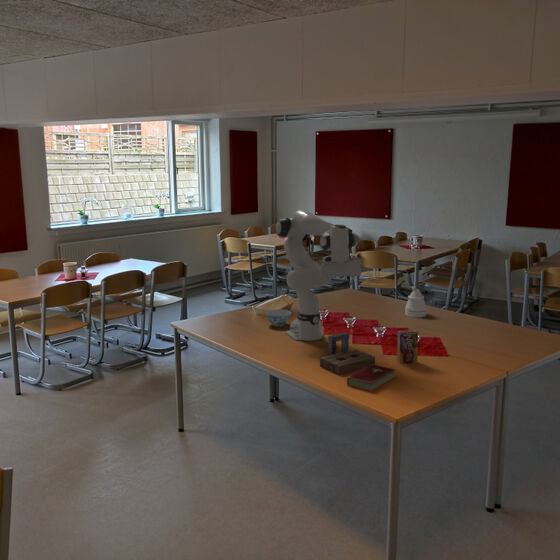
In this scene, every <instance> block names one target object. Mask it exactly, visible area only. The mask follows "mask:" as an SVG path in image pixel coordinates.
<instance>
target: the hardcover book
mask: <svg viewBox="0 0 560 560" xmlns="http://www.w3.org/2000/svg"><path fill="white" fill-rule="evenodd" d="M396 370H397V369H394V368H391V367H386V366H384V365H377V364H375V365H374V364H372V365H370V366H368V367H365V368H362V369H361V370H359V371H357V372H355V373H354V374H352V375H350V376H348V377H347V379H346V385H347V386H350V387H351V386H352V387H355V388H358V389H363V390H366V391H370V392H371V391H374V390H376V389H377V388H378V387H380V386H382V385H384V384H385V383H386V382H388V381H390V380H391V379H394V378H395V371H396Z"/></svg>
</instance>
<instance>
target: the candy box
mask: <svg viewBox="0 0 560 560" xmlns="http://www.w3.org/2000/svg"><path fill="white" fill-rule="evenodd" d="M396 343H397V351H396V353H397V355H396V356H397V357H396V361H397V363H398V364H399V365H406V364H418V353H419V352H418V347H419V346H418V345H419V344H418V343H419V331H417V330H416V329H414V330H398V331H397V342H396Z"/></svg>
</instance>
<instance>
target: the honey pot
mask: <svg viewBox="0 0 560 560" xmlns="http://www.w3.org/2000/svg"><path fill="white" fill-rule="evenodd" d="M410 288H411V290H412V292H411V293H410V295H408V296H407V302H406V304H405V309H404V310H405V311H404V315H405V316H406V315H407V316H406V317H409V316H410V318H423V317H424V318H425V317H427V306H426V302H425V299H424V298H425V296H424V295H423V294H422V292H421V291H420V289H418V288H416V286H411V287H410Z"/></svg>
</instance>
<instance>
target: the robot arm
mask: <svg viewBox="0 0 560 560" xmlns="http://www.w3.org/2000/svg"><path fill="white" fill-rule="evenodd" d="M274 228H275V234H276V235H277V236H278V237H280V238H287V239H286V240H285V241H284V243H283V246H284V247H283V248H284V252H285V254H286V257H287V259H288V261H289V263H290V265H291V267H292V270H290V271H288V273H286V277H285V278H286V284H287V285H288V287H289V288H290V289H291V290H293V291H294V292H295V294H296V295H297V299H298V310H299V311H298V312H296V314H297V318H296V319H294V321H292V322H291V323H290V326H289V330H286V331H285V334H286V335H287V336H288V337H290V338H292V339H293V340H295V341H307V342H308V341H309V342H311V341H313V342H314V341H318V340H322V339H323V336H324V332H323V328H322V321H321V312H320V299H319V297H318V296H317V295H316V294H314V293H311V288H312V289H313V288H321V287H324V286H328V285H330V286H331V287H332V286H334V281H332V278H333V277H351V280H349V281H348V285H349V286H353V282H354V280H355V277H360V276H361V275H362V268H361V266H362V264H363V261H362V258H360V257H359V256H355V257H354V256H350V250H351V249H352V247H354V244H355V242H356V238H355V235H354V234H353V232H352V231H351V230H349V229H348V227H347V226H346V225H344V224H333V223H331V222H328V221H326V220H324V219H322V218H320V217H318V216H317V215H315V214H313V213H312V212H311V211H308V210H306V209H298V210H296V211H295V212H294V213H293V215H292V217H291V218H289V217H284V218H281V219H278V220H277V222H275V227H274ZM311 236H320V237H319V246H320V248H321V249H322V250H324V251H330V254H329V255H327V256H324V257H322V263H321V264H319V263H318V262H316V261H315V260H314V259H312V258H311V257H310V255H309V253H308V251H307V250H306V248H305V246H304V245H303V242H306V241H307V240H308V239H309V238H310V237H311Z"/></svg>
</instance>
